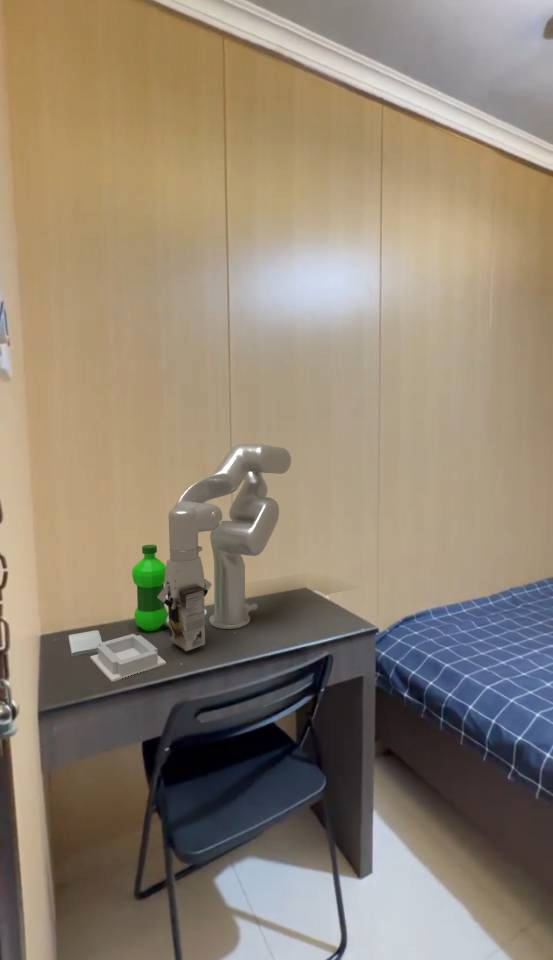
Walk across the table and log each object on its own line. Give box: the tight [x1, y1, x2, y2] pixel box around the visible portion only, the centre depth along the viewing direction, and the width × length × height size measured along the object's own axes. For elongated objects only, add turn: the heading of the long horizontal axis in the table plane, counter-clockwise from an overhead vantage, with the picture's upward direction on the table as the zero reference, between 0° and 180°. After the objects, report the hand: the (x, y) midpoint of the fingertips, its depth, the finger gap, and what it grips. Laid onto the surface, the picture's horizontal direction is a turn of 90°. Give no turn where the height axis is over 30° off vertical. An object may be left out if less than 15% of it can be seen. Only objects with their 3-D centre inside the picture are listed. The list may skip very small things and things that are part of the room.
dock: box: [89, 633, 167, 683], centre depth 125 cm, size 14×15×4 cm
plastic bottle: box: [131, 544, 169, 632], centre depth 145 cm, size 10×10×25 cm
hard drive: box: [67, 629, 103, 658], centre depth 135 cm, size 2×8×12 cm
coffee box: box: [167, 586, 206, 652], centre depth 132 cm, size 9×6×16 cm
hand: (186, 617), depth 132 cm, fingers closed on coffee box, 6 cm apart
